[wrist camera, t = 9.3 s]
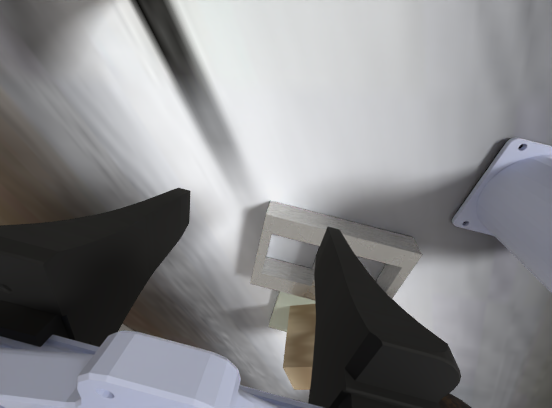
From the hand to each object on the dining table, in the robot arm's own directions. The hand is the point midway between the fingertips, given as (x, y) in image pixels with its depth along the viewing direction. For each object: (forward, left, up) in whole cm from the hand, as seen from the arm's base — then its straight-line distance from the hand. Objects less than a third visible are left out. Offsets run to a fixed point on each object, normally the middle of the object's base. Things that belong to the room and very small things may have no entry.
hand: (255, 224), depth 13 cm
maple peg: (-8, +18, -10) cm, 22 cm away
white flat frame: (-7, +9, -10) cm, 15 cm away
